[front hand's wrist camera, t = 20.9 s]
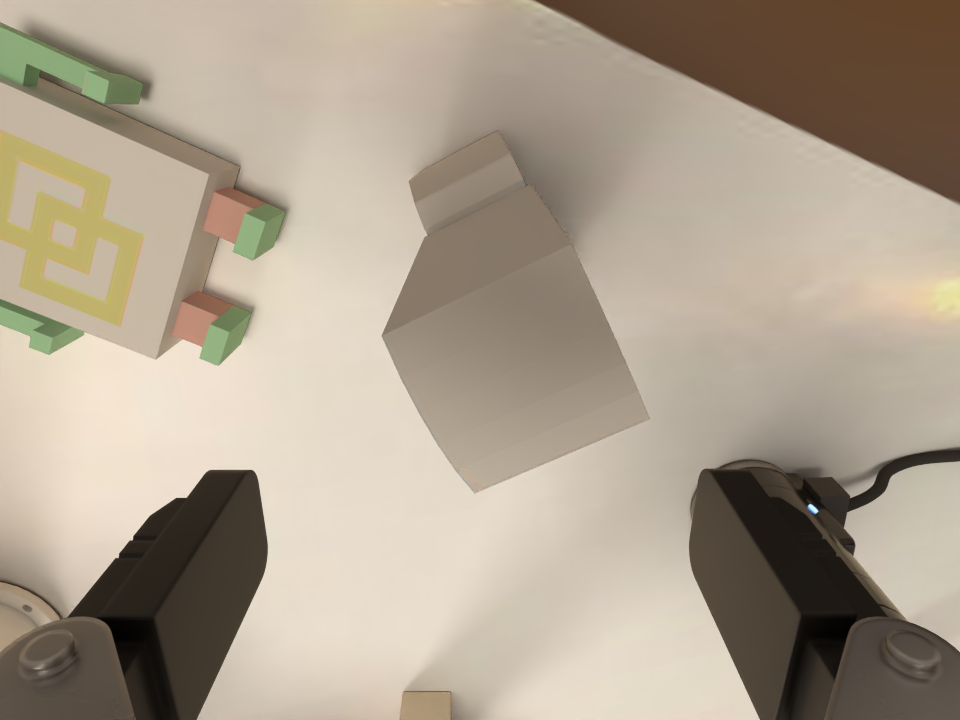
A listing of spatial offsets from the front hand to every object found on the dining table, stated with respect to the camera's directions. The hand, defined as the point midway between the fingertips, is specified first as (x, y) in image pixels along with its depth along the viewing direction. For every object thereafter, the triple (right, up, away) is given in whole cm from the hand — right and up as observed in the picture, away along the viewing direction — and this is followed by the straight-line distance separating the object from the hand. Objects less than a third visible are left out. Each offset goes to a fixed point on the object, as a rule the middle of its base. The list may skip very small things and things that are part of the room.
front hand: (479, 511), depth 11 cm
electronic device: (+1, +13, +37) cm, 39 cm away
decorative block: (-28, +14, +36) cm, 48 cm away
